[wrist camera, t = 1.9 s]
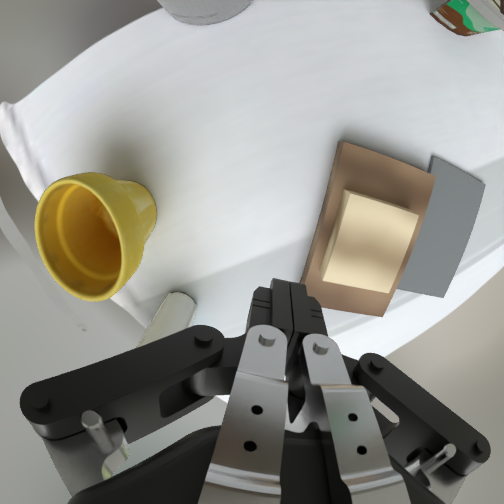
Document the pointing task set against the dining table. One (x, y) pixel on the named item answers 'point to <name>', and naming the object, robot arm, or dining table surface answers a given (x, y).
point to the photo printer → (170, 318)
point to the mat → (443, 230)
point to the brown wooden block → (377, 186)
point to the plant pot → (93, 232)
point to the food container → (471, 16)
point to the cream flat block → (367, 242)
